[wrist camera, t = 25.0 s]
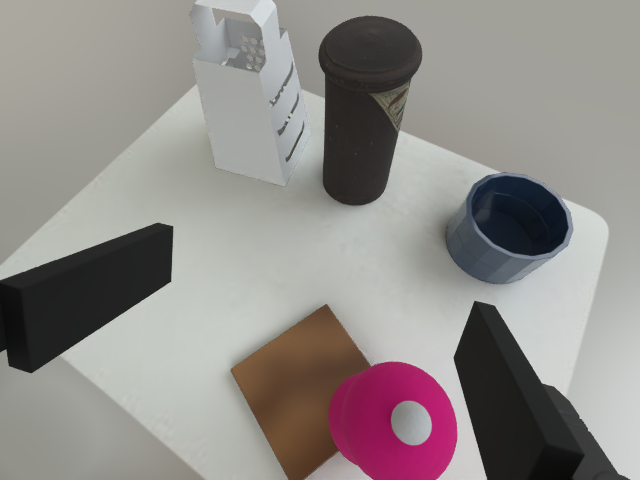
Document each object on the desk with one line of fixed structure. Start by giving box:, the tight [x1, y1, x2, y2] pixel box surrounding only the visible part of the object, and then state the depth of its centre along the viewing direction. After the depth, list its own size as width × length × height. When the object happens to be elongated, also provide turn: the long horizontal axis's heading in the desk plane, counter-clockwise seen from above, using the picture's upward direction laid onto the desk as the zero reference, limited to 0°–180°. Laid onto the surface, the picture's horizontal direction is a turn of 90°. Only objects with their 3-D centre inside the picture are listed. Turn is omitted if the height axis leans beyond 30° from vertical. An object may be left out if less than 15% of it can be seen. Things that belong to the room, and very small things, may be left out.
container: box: [319, 16, 422, 205], centre depth 37 cm, size 9×9×20 cm
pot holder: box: [230, 304, 371, 480], centre depth 34 cm, size 12×12×1 cm
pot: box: [446, 172, 573, 284], centre depth 39 cm, size 11×11×7 cm
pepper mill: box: [328, 362, 457, 480], centre depth 23 cm, size 7×7×20 cm
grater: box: [189, 0, 311, 187], centre depth 40 cm, size 10×10×20 cm
